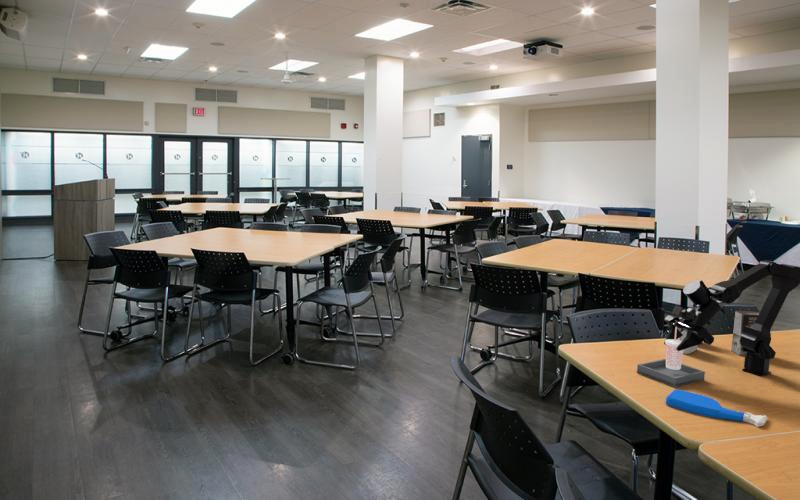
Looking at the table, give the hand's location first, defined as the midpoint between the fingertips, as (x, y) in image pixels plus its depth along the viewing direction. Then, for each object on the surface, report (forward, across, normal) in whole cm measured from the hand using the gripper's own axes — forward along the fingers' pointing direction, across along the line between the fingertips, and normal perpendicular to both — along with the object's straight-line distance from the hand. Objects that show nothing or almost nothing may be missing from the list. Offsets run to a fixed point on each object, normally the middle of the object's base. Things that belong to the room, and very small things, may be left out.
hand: (671, 347), depth 186 cm
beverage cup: (+4, 0, +6) cm, 7 cm away
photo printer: (-10, -25, +26) cm, 37 cm away
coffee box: (-25, -19, +40) cm, 51 cm away
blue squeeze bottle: (+11, +28, +4) cm, 30 cm away
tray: (+7, 0, +8) cm, 10 cm away
